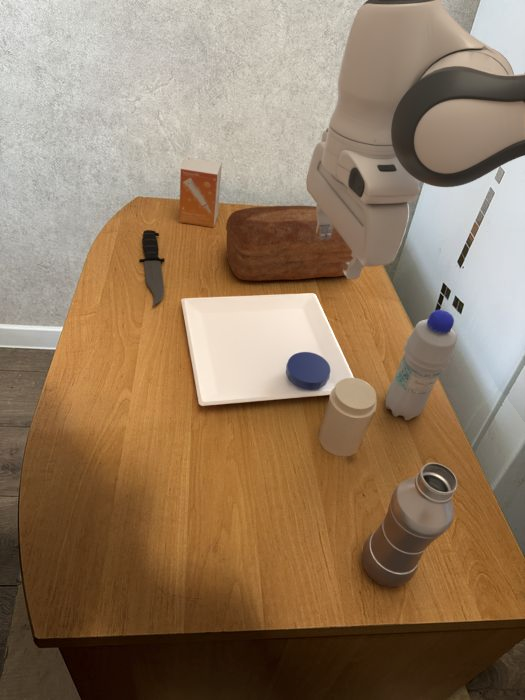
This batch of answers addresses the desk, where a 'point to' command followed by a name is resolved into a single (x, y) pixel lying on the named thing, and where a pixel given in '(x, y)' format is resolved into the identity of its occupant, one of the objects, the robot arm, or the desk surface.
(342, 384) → the jar
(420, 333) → the bottle
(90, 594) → the desk surface
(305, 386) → the lid
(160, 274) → the knife
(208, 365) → the plate
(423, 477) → the silver ringed container
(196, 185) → the small box
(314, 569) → the desk surface
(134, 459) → the desk surface
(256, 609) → the desk surface
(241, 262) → the bread
